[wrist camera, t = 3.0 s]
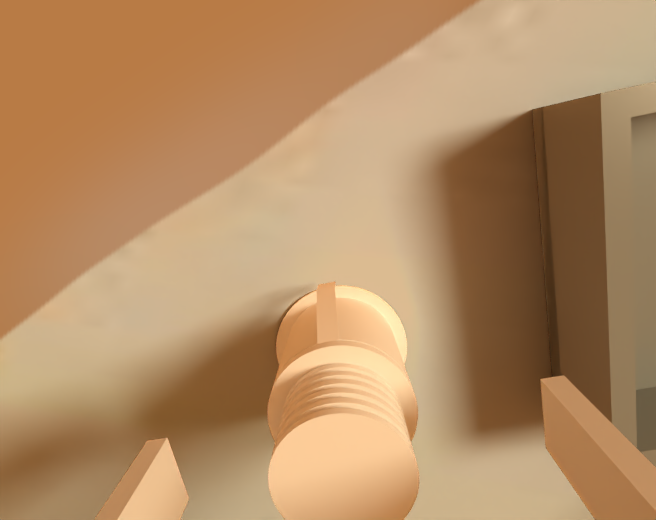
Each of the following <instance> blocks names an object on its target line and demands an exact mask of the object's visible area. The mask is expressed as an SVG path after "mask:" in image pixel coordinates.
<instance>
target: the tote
mask: <svg viewBox="0 0 656 520" xmlns="http://www.w3.org/2000/svg"><path fill="white" fill-rule="evenodd" d="M532 116H533V129H534V143H535V156H536V170H537V183H538V196H539V210H540V223H541V237H542V250H543V264H544V277H545V290H546V304H547V317H548V331H549V344H550V358H551V371H552V377H556V376H563V375H564V376H565V377H566V378H567V379H568V380H569V381H570V382H571V383H572V384H573V385H574V386H575V387H576V388H577V389H578V390H579V391H580V392H581V393H582V394H583V395H584V396H585V397H586V398H587V399H588V400H589V401H590V402H591V403H592V404H593V405H594V406H595V407H596V408H597V409H598V410H599V411H600V412H601V413H602V414H603V415H604V416H605V417H606V418H607V419H608V420H609V421H610V422H611V423H612V424H613V425H614V426H615V427H616V428H617V429H618V430H619V431H620V432H621V433H622V434H623V435H624V436H625V437H626V438H627V439H628V440H629V441H630V442H631V443H632V444H633V445H634V446H635V447H636V448H637V449H638V450H639V451H640V452H641V453H642V454H643V455H644V456H645V457H646V458H647V459H648V460H649V461H650V462H651V463H652V464H653V465H654V466H655V467H656V82H652V83H648V84H643V85H638V86H633V87H629V88H624V89H619V90H614V91H610V92H605V93H600V94H596V95H592V96H588V97H583V98H579V99H575V100H571V101H566V102H562V103H558V104H554V105H549V106H545V107H541V108H537V109H533V110H532Z"/></svg>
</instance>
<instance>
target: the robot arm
mask: <svg viewBox="0 0 656 520" xmlns="http://www.w3.org/2000/svg"><path fill="white" fill-rule="evenodd" d="M540 381H541V394H542V407H543V419H544V432H545V445H546V449H547V450H548V452H549V453H550V455H551V456H552V458H553V459H554V461H555V462H556V463H557V465H558V466H559V468H560V469H561V471H562V472H563V474H564V475H565V477H566V478H567V479H568V481H569V482H570V484H571V485H572V487H573V488H574V490H575V491H576V492H577V494H578V495H579V497H580V498H581V500H582V501H583V503H584V504H585V506H586V507H587V508H588V510H589V511H590V513H591V514H592V516H593V517H594V519H595V520H656V467H655V466H654V465H653V464H652V463H651V462H650V461H649V460H648V459H647V458H646V457H645V456H644V455H643V454H642V453H641V452H640V451H639V450H638V449H637V448H636V447H635V446H634V445H633V444H632V443H631V442H630V441H629V440H628V439H627V438H626V437H625V436H624V435H623V434H622V433H621V432H620V431H619V430H618V429H617V428H616V427H615V426H614V425H613V424H612V423H611V422H610V421H609V420H608V419H607V418H606V417H605V416H604V415H603V414H602V413H601V412H600V411H599V410H598V409H597V408H596V407H595V406H594V405H593V404H592V403H591V402H590V401H589V400H588V399H587V398H586V397H585V396H584V395H583V394H582V393H581V392H580V391H579V390H578V389H577V388H576V387H575V386H574V385H573V384H572V383H571V382H570V381H569V380H568V379H567V378H566V377H565V376H564V375H563V376H556V377H550V378H543V379H540ZM188 500H189V497H188V494H187V491H186V489H185V486H184V483H183V480H182V477H181V474H180V472H179V469H178V466H177V463H176V460H175V458H174V455H173V452H172V449H171V446H170V444H169V441H168V438H161V439H155V440H148V441H147V442H146V443H145V445H144V446H143V448H142V449H141V451H140V452H139V454H138V455H137V457H136V458H135V460H134V461H133V463H132V464H131V466H130V467H129V469H128V470H127V472H126V473H125V475H124V476H123V478H122V479H121V481H120V482H119V484H118V485H117V487H116V488H115V490H114V491H113V493H112V494H111V496H110V497H109V498H108V500H107V501H106V503H105V504H104V506H103V507H102V509H101V510H100V512H99V513H98V515H97V516H96V518H95V519H94V520H180V519H181V516H182V514H183V512H184V510H185V507H186V505H187V503H188Z"/></svg>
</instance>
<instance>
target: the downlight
mask: <svg viewBox="0 0 656 520" xmlns="http://www.w3.org/2000/svg"><path fill="white" fill-rule="evenodd" d="M276 354H277V360H278V363H279V368H278V372H277V375H276V378H275V381H274V384H273V388H272V391H271V394H270V397H269V401H268V414H267V415H268V423H269V428H270V431H271V434H272V437H273V439H274V441H275V445H274V449H273V453H272V458H271V462H270V466H269V472H268V483H269V490H270V494H271V497H272V500H273V502H274V504H275V506H276V508H277V509H278V511H279V512H280V514H281V515H282V516H283V517H284V519H285V520H403V519H404V518H405V517H406V516H407V514H408V513H409V512H410V510H411V508H412V506H413V504H414V502H415V500H416V497H417V493H418V488H419V471H418V466H417V462H416V458H415V455H414V451H413V447H412V444H411V441H412V439H413V437H414V434H415V431H416V426H417V420H418V408H417V401H416V397H415V394H414V391H413V388H412V386H411V383H410V380H409V377H408V374H407V371H406V368H405V366H404V364H405V361H406V356H407V340H406V334H405V331H404V328H403V325H402V323H401V321H400V319H399V317H398V315H397V314H396V312H395V311H394V310H393V309H392V307H391V306H390V305H389V304H388V303H387V302H385V301H384V300H383V299H382V298H380V297H379V296H377V295H376V294H374V293H372V292H370V291H368V290H365V289H362V288H358V287H354V286H346V285H336V286H335V282H330V283H325V284H319V285H318V287H317V290H315V291H313V292H311V293H309V294H307V295H305V296H304V297H302V298H301V299H300V300H298V301H297V302H296V303H295V304H294V305H293V306H292V307H291V308H290V309H289V311H288V312H287V313H286V315H285V317H284V318H283V320H282V323H281V325H280V328H279V330H278V335H277V340H276Z"/></svg>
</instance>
